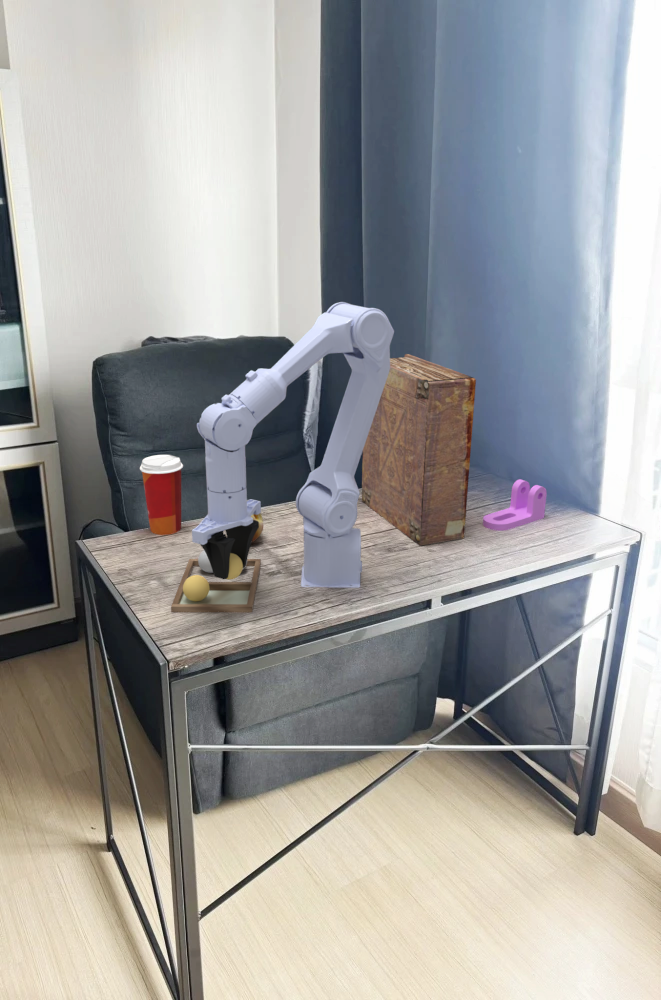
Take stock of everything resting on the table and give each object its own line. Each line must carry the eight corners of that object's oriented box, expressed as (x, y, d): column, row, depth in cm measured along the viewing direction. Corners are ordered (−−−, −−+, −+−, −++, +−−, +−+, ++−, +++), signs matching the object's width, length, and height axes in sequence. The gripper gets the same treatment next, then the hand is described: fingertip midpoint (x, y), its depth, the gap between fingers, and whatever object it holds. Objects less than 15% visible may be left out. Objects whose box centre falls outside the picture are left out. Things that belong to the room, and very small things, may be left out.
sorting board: (260, 567, 136) (260, 557, 135) (252, 615, 120) (251, 605, 119) (189, 566, 136) (189, 557, 135) (171, 615, 120) (170, 605, 119)
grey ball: (218, 572, 135) (226, 550, 134) (216, 578, 131) (225, 556, 130) (195, 564, 134) (204, 542, 134) (193, 570, 130) (202, 547, 130)
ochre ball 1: (211, 593, 125) (210, 570, 124) (208, 606, 121) (206, 582, 120) (186, 593, 125) (184, 570, 124) (181, 605, 121) (180, 582, 120)
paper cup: (168, 520, 155) (163, 451, 150) (195, 530, 151) (191, 459, 146) (135, 532, 150) (129, 460, 145) (162, 543, 145) (157, 469, 140)
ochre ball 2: (227, 570, 125) (226, 547, 123) (248, 576, 123) (247, 552, 121) (211, 580, 121) (210, 555, 120) (232, 586, 119) (231, 561, 118)
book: (361, 501, 166) (364, 356, 156) (400, 495, 170) (406, 353, 159) (420, 546, 144) (428, 382, 134) (464, 539, 148) (476, 377, 137)
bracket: (522, 510, 162) (525, 477, 160) (543, 518, 158) (547, 485, 155) (476, 524, 155) (479, 490, 152) (498, 533, 151) (501, 498, 148)
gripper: (219, 507, 109) (222, 596, 114) (276, 477, 121) (278, 559, 126) (178, 497, 112) (183, 585, 117) (238, 470, 124) (241, 550, 129)
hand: (230, 571), depth 122 cm, fingers closed on ochre ball 2, 4 cm apart
